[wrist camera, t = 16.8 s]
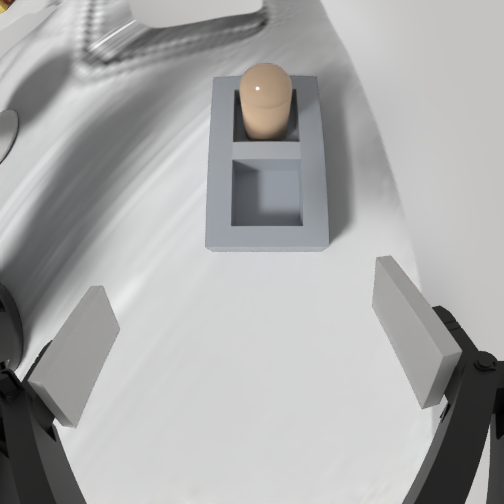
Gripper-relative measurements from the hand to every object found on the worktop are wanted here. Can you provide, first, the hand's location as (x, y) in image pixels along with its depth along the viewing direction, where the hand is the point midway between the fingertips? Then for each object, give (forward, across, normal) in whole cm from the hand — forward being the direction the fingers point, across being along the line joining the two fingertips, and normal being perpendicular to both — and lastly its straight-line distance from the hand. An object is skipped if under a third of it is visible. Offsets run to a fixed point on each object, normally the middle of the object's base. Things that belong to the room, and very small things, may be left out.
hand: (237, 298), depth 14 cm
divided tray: (+25, +3, +1) cm, 25 cm away
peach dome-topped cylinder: (+26, +3, +6) cm, 27 cm away
